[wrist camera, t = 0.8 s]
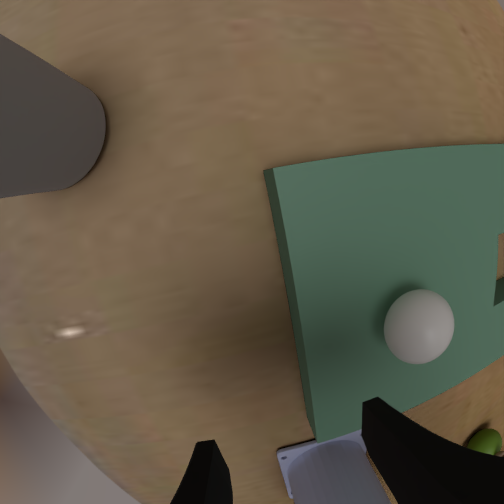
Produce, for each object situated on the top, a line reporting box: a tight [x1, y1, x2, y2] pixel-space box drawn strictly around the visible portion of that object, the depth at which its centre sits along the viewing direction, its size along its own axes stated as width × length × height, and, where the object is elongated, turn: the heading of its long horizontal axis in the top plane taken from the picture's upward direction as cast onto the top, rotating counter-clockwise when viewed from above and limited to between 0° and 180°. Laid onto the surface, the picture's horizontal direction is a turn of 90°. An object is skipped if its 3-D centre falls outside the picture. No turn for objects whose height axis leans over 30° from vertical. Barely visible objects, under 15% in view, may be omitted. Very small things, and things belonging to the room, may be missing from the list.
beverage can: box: [0, 34, 106, 198], centre depth 9 cm, size 6×6×12 cm
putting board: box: [263, 144, 504, 444], centre depth 18 cm, size 18×24×3 cm
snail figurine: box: [467, 429, 504, 457], centre depth 21 cm, size 5×6×12 cm
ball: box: [384, 289, 454, 364], centre depth 14 cm, size 4×4×4 cm
